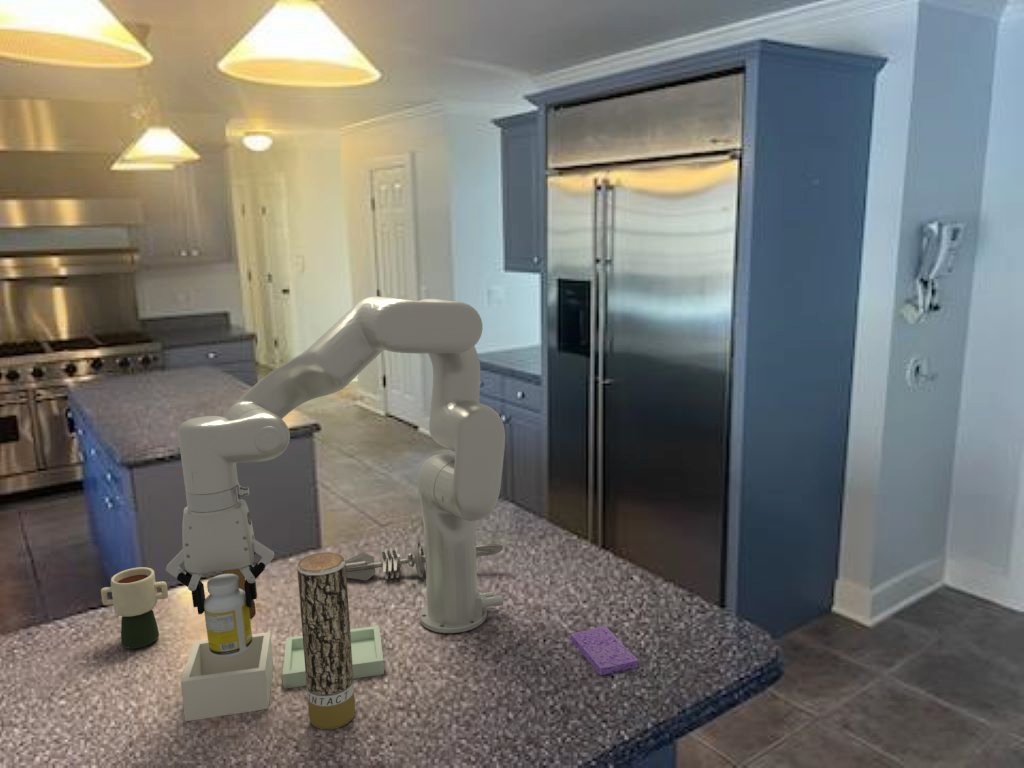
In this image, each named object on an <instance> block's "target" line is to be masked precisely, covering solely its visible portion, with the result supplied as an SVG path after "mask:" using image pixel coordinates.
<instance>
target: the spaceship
mask: <svg viewBox="0 0 1024 768" xmlns="http://www.w3.org/2000/svg"><path fill="white" fill-rule="evenodd" d="M503 548H504V547H503V545H500V544H496V543H492V544H491V543H489V544H488V543H487V544H481V545H476V558H478V557H486V556H491V555H492V556H493V555H496V554H499V553H500V552H501V551H503ZM398 549H399V547H398V546H395V547H394V550H393V547H390V548H389V550H388V548H384V550H383V551H382V552H381V556H382V558H381V559H380V561H375V557H374V556H373V555H370V554H369V553H366V552H362V553H358V555H355V556H353V557H350V558H349V559H347V560H346V559H345V562H346V576H347V578H349V579H353V580H360V581H368V580H370V578H372V577H374V575H376V569H379V568H382V572H383V573H384V576H385V577H384V579H385V580H388V579H389V576H390V579H393V578H394V575H395V578H396V579H397V578H399V577H400V574H401V573H402V571H401V568H402V565H404V564H406V565H407V564H408V566H409V567H412V568H413V567H414V566H415V569H416V574H417V575H418V576H419V578H420V579H423V578H424V572H426V562H425V551H424V548H423V546H422V545H421V542H420V540H419V539H416V540H415V544H414V550H413V551H414V553H408V554H407V557H405V558H401V557H400V556H401V555H400V553H398V552H399V551H398Z"/></svg>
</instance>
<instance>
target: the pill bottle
mask: <svg viewBox="0 0 1024 768" xmlns="http://www.w3.org/2000/svg"><path fill="white" fill-rule="evenodd" d="M206 587H207V592H208V595H207V596H205V601H204V613H203V614H204V618H205V620H204V621H205V628H206V634H207V640H208V643H209V649H210V652H211V653H212V654H213V655H214V656H217V657H231V656H235V655H238V654H240V653H242V652H244V651H246V650H247V649H248V648H249V647H250V646H251V644H252V634H253V633H252V626H251V625H252V624H251V619H250V614H249V608H248V607H247V604H246V595H245V591H243V590H242V589H240V588H239V587H240V582H239V577H238V576H237V575H235V574H223V573H222V574H219V575H215V576H213V577H211V578H210V579H209V580H208V581H207V582H206Z"/></svg>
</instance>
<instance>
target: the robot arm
mask: <svg viewBox="0 0 1024 768" xmlns="http://www.w3.org/2000/svg"><path fill="white" fill-rule="evenodd" d="M482 333H483V321H482V318H481V316H480V314H479V313H478V311H477V310H476V309H475V308H474V307H473V306H471V305H470V304H468V303H466V302H463V301H462V302H461V301H456V300H455V301H454V300H447V299H446V300H445V299H442V298H441V299H440V298H425V299H424V298H423V299H420V300H412V299H401V298H394V297H393V298H392V297H388V296H387V297H386V296H368V297H367V298H364V299H362V300H360V301H359V302H357V303H356V304H355V305H354V306H353V307H352V308H351V309H349V311H347V312H346V313H345V314H344V315H343V316H342V317H341V318H340V319H338V321H337V322H336V323H334V324H333V325H332V326H331V327H330V328H329V329H328V330H326V332H324V333H323V335H321V336H320V337H319V338H318V339H317V340H316V341H315V342H314V343H312V345H310V346H309V347H308V348H307V349H306V350H304V351H303V352H302V353H300V354H298V355H297V356H294V357H293V358H292V359H290V360H289V361H287V362H286V363H284V364H282V365H281V366H279V367H277V368H276V369H274V370H273V371H271V372H270V373H268V374H267V375H265V376H264V377H263V378H260V380H259V381H257V382H256V383H255V384H254V385H253V386H251V388H249V389H248V390H247V391H246V392H245V393H244V394H243V395H242V396H241V397H240V398H239V399H237V401H235V402H234V403H233V404H232V405H231V407H230V408H229V409H228V410H227V412H226V414H225V416H221V415H219V416H218V415H206V416H205V415H204V416H198V417H193V418H190V419H187V420H185V421H183V422H182V423H181V424H180V426H178V430H177V432H178V444H179V452H180V460H181V466H182V476H183V483H184V489H185V497H186V498H185V500H186V507H184V508H183V512H182V524H181V525H182V527H181V528H182V529H181V531H182V534H181V535H182V536H181V537H182V549H181V550H180V551H179V552H178V553H177V554H176V555H175V556H174V557H173V558H172V559H171V561H169V562H168V563H167V564H166V567H165V571H166V572H167V573H168V574H170V575H171V576H173V577H174V578H176V580H177V581H178V582H179V583H181V584H183V586H186V587H187V589H188V590H189V591H191V598H192V606H193V608H197V615H203V614H205V613H204V601H205V599H206V595H205V594H206V593H205V585H204V582H203V581H202V580H200V579H201V577H202V574H209V573H216V572H223V571H226V570H234V569H240V571H241V572H242V574H243V575H244V577H245V585H244V587H245V595H246V604H247V607H248V608H250V607H252V604H253V600H257V598H258V592H257V582H256V581H257V578H258V577H259V576H260V575H261V574H262V573H263V572H264V571H265V569H266V567H268V566H269V564H270V563H271V561H272V560H273V559H274V557H275V552H274V551H273V550H272V549H270V548H269V547H267V546H266V545H264V543H261V542H260V541H258V540H257V539H255V534H254V533H255V532H254V528H253V522H252V518H251V513H250V509H249V507H248V503H247V501H246V499H243V498H245V497H246V496H247V497H248V496H250V488H249V486H245V487H244V486H242V485H240V482H239V478H238V470H237V464H239V463H258V462H259V463H261V462H268V461H271V460H274V459H276V458H278V457H280V456H282V454H283V453H284V452H285V451H286V450H287V448H288V446H289V444H290V440H291V434H290V430H289V426H288V425H287V424H286V422H285V421H284V420H283V419H284V418H285V417H286V416H287V415H289V414H290V413H291V412H293V410H295V409H296V408H298V407H299V406H301V405H302V404H304V403H306V402H308V401H311V400H314V399H318V398H322V397H325V396H329V395H333V394H335V393H337V392H339V391H341V390H343V389H344V388H346V387H347V386H348V385H350V383H351V382H352V381H353V380H354V379H355V378H356V377H357V376H358V375H359V374H360V373H361V372H362V371H363V370H365V368H366V367H368V365H370V363H372V362H373V361H374V359H376V358H377V357H378V356H379V355H380V354H381V353H382V352H383V351H387V352H391V353H397V354H398V353H400V354H418V355H419V354H428V356H429V358H430V362H431V365H432V388H431V389H432V390H431V391H432V392H431V401H430V412H429V419H428V420H429V422H428V427H429V434H430V436H431V439H433V441H434V442H435V443H436V444H438V445H439V446H441V447H444V448H445V449H447V450H450V451H452V452H454V455H453V454H450V453H438V454H434V455H431V456H430V457H429V458H427V459H426V460H425V461H424V462H423V463H422V465H421V466H420V468H419V470H418V474H417V479H416V486H417V488H416V489H417V493H418V499H419V503H420V507H421V508H420V509H421V514H422V520H423V521H422V522H423V536H424V537H423V538H424V554H425V578H426V579H425V580H426V604H425V605H424V606H423V607H422V608H421V609H420V611H419V622H420V625H422V626H423V627H424V628H426V629H427V630H430V631H432V632H434V633H441V634H459V633H464V632H468V631H470V630H473V629H476V628H477V627H479V626H481V625H482V624H483V623H484V622H485V621H486V618H487V609H488V608H491V607H501V606H502V607H503V605H504V599H503V595H502V594H499V595H498V594H497V595H494V591H487V592H482V591H479V588H478V568H477V567H478V566H477V565H478V564H477V560H478V559H477V558H478V557H476V546H477V529H476V522H478V521H481V520H484V519H486V518H487V517H488V516H489V515H490V514H491V513H492V512H493V511H494V509H495V507H496V506H497V503H498V502H499V501H498V499H499V497H500V492H501V488H502V487H501V486H502V477H503V467H504V457H505V448H506V432H505V431H506V429H505V426H504V422H503V420H502V418H501V415H500V414H499V413H498V412H497V411H496V410H495V409H494V408H492V407H490V406H488V405H487V404H483V403H481V402H480V394H481V393H480V392H481V364H480V363H481V362H480V358H479V354H478V351H477V349H476V347H475V346H476V345H478V342H479V341H480V340H481V338H482ZM256 554H258V555H259V556H261V558H260V560H259V561H258V562H256V564H255V565H253V563H254V560H255V559H254V556H255V555H256ZM181 564H183V566H184V569H182V567H181V566H180V565H181Z"/></svg>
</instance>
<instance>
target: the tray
mask: <svg viewBox="0 0 1024 768" xmlns="http://www.w3.org/2000/svg"><path fill="white" fill-rule="evenodd" d="M350 635H351V650H352V665H353V680H354V679H359V678H360V679H361V678H367V677H374V676H380V675H385V665H384V664H385V663H384V662H385V661H384V652H383V645H382V639H381V629H380V625H372V626H364V627H356V628H350ZM285 638H286V639H285V646H284V647H285V648H284V649H285V650H284V658H283V667H282V683H283V689H284V690H285V689H291V688H297V687H304V686H305V687H307V684H306V672H305V659H304V647H303V634H302V635H297V636H296V635H295V636H289V637H285Z"/></svg>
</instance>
